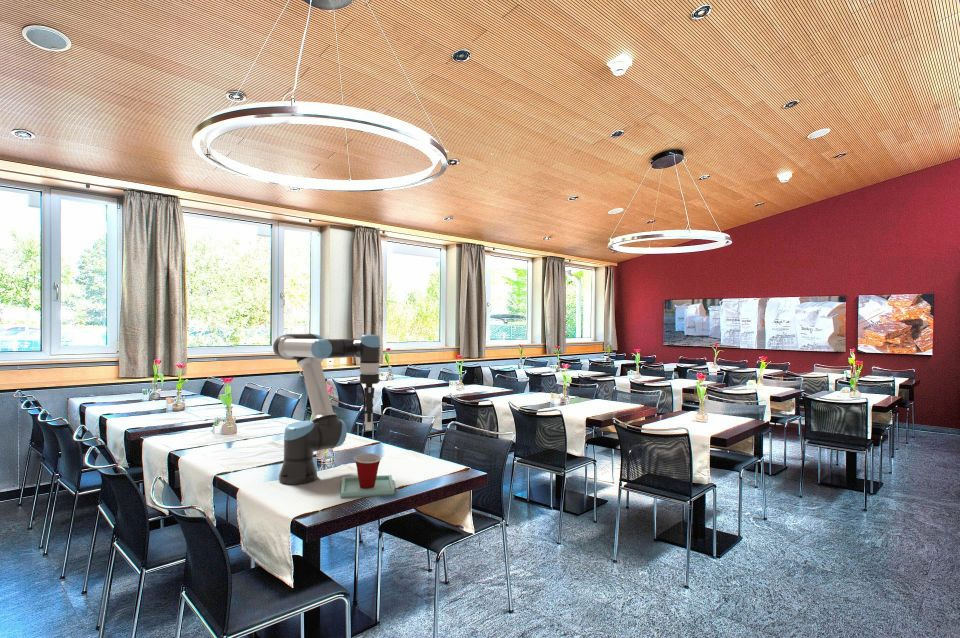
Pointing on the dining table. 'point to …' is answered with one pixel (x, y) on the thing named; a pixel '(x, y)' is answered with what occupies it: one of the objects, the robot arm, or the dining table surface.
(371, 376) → the robot arm
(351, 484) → the tray
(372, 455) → the plastic cup
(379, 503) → the dining table surface
